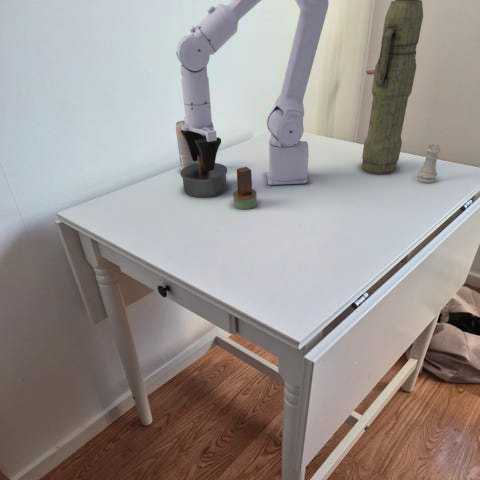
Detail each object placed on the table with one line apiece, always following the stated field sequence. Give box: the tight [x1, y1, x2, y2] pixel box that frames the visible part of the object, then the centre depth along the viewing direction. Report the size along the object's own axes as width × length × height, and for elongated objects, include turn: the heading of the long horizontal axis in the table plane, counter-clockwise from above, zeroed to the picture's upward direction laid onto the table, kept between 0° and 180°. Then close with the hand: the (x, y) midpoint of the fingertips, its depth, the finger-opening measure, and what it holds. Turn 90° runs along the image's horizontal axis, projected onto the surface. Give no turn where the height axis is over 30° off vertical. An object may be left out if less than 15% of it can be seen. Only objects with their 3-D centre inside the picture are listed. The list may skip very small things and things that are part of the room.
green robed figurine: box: [360, 0, 424, 176], centre depth 98 cm, size 9×12×35 cm
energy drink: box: [175, 120, 198, 171], centre depth 110 cm, size 5×5×12 cm
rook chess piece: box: [416, 143, 442, 184], centre depth 99 cm, size 4×4×8 cm
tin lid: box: [180, 154, 228, 182], centre depth 100 cm, size 11×11×5 cm
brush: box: [232, 166, 258, 210], centre depth 93 cm, size 5×5×8 cm
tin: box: [182, 174, 228, 199], centre depth 102 cm, size 10×10×4 cm
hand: (203, 165), depth 100 cm, fingers open, 7 cm apart
